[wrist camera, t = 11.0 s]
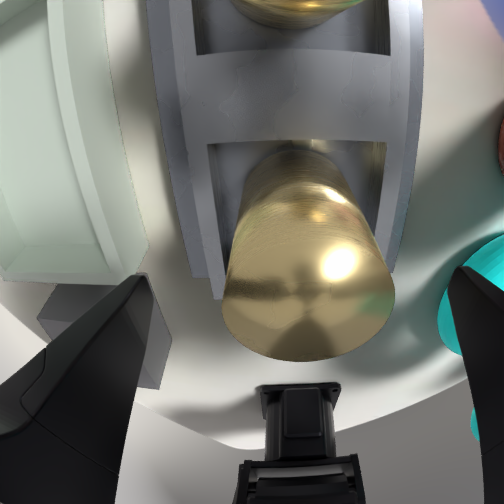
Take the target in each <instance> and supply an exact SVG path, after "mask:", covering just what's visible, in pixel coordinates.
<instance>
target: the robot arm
mask: <svg viewBox="0 0 504 504" xmlns="http://www.w3.org/2000/svg"><path fill="white" fill-rule="evenodd" d="M447 295H448V299H449V303H450V308H451V312H452V316H453V321H454V326H455V330H456V335H457V339H458V343H459V346H460V350H461V353H462V357H463V361H464V364H465V368H466V372H467V376H468V380H469V385H470V389H471V394H472V399H473V404H474V409H475V414H476V420H477V426H478V433H479V440H480V447H481V455H482V456H481V457H482V467H483V482H484V504H504V291H503V290H501V289H500V288H499V287H497V286H496V285H495V284H493V283H492V282H491V281H489V280H488V279H486V278H485V277H484V276H482V275H481V274H479V273H478V272H477V271H475V270H474V269H472V268H471V267H469V266H458V267H456V268H455V270H454V272H453V275H452V277H451V280H450V282H449V284H448V288H447ZM153 305H154V297H153V294H152V291H151V288H150V285H149V283H148V280H147V278H146V276H145V275H142V274H133V275H130V276H129V277H128V278H126V279H125V280H124V281H123V282H121V283H120V284H119V285H118V286H116V287H115V288H114V289H113V290H112V291H110V292H109V293H108V294H107V295H105V296H104V297H103V298H102V299H101V300H99V301H98V302H97V303H96V304H95V305H93V306H92V307H91V308H90V309H89V310H87V311H86V312H85V313H84V314H83V315H81V316H80V317H79V318H78V319H77V320H76V321H74V322H73V323H72V324H71V325H70V326H69V327H67V328H66V329H65V330H64V331H63V332H62V333H61V334H59V335H58V336H57V337H56V338H55V339H54V340H53V341H51V342H50V343H49V344H48V345H47V346H46V348H44V349H43V350H41V351H40V352H39V353H38V354H37V355H36V356H35V357H34V358H33V359H31V360H30V361H29V362H28V363H27V364H26V365H24V366H23V367H22V368H21V369H20V370H18V371H17V372H16V373H15V374H13V375H12V376H11V377H10V378H9V379H7V380H6V381H5V382H3V383H2V384H1V385H0V504H115V497H116V491H117V484H118V478H119V476H118V475H119V471H120V466H121V460H122V454H123V449H124V444H125V439H126V434H127V429H128V424H129V419H130V415H131V411H132V406H133V401H134V397H135V393H136V389H137V385H138V380H139V376H140V372H141V368H142V364H143V361H144V357H145V352H146V348H147V342H148V336H149V329H150V323H151V317H152V311H153ZM340 392H341V385H340V384H338V383H335V384H320V385H298V386H264V387H262V388H261V403H262V413H263V419H265V420H266V438H265V461H252V460H245V461H244V464H240V465H239V474H238V483H237V488H236V492H235V495H234V500H233V503H232V504H366V501H365V493H364V487H363V481H362V476H361V470H360V466H359V460H358V455H357V453H356V454H350V455H349V456H341V457H336V444H335V431H334V420H333V410H334V408H335V405H336V402H337V400H338V397H339V394H340ZM258 478H259V479H258Z"/></svg>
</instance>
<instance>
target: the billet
mask: <svg viewBox="0 0 504 504" xmlns="http://www.w3.org/2000/svg"><path fill="white" fill-rule="evenodd" d="M394 302H395V288H394V283H393V280H392V277H391V275H390V272H389V270H388V268H387V265H386V263H385V261H384V258H383V256H382V254H381V252H380V249H379V247H378V245H377V243H376V240H375V238H374V236H373V234H372V232H371V230H370V227H369V225H368V223H367V221H366V219H365V217H364V215H363V213H362V211H361V209H360V207H359V205H358V203H357V201H356V199H355V197H354V195H353V193H352V191H351V189H350V187H349V185H348V183H347V181H346V180H345V178H344V176H343V174H342V173H341V171H340V170H339V169H338V168H337V166H336V165H335V164H333V163H332V162H331V161H330V160H328V159H327V158H325V157H323V156H321V155H319V154H316V153H313V152H310V151H304V150H289V151H283V152H279V153H277V154H274V155H272V156H270V157H268V158H266V159H264V160H263V161H262V162H260V163H259V164H258V165H257V166H256V167H255V168H254V169H253V170H252V171H251V173H250V174H249V176H248V177H247V179H246V182H245V184H244V187H243V191H242V196H241V201H240V206H239V211H238V217H237V222H236V227H235V232H234V238H233V243H232V248H231V254H230V259H229V265H228V270H227V275H226V281H225V287H224V292H223V298H222V315H223V319H224V322H225V324H226V326H227V328H228V330H229V331H230V332H231V334H232V335H233V336H234V337H235V338H236V339H237V340H238V341H239V342H240V343H241V344H243V345H244V346H245V347H247V348H249V349H250V350H252V351H254V352H256V353H258V354H261V355H263V356H266V357H269V358H273V359H277V360H283V361H292V362H309V361H318V360H325V359H329V358H333V357H336V356H339V355H342V354H345V353H347V352H350V351H352V350H354V349H356V348H358V347H359V346H361V345H363V344H364V343H366V342H367V341H368V340H370V339H371V338H372V337H373V336H374V335H376V334H377V333H378V332H379V331H380V329H381V328H382V327H383V326H384V324H385V323H386V321H387V320H388V318H389V316H390V314H391V312H392V309H393V306H394Z"/></svg>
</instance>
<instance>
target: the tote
mask: <svg viewBox="0 0 504 504" xmlns="http://www.w3.org/2000/svg"><path fill="white" fill-rule="evenodd" d="M148 248H149V242H148V239H147V236H146V232H145V229H144V225H143V222H142V218H141V214H140V211H139V207H138V203H137V199H136V196H135V192H134V188H133V184H132V180H131V175H130V171H129V167H128V163H127V158H126V154H125V149H124V145H123V140H122V135H121V130H120V125H119V120H118V115H117V109H116V104H115V98H114V92H113V86H112V79H111V72H110V65H109V58H108V50H107V42H106V32H105V22H104V10H103V0H0V275H1V277H2V278H3V280H4V281H19V282H39V283H63V284H93V285H119V284H120V283H121V282H123V281H124V280H125V279H126V278H128V277H129V276H130V275H133V274H136V272H137V270H138V268H139V266H140V264H141V262H142V260H143V258H144V256H145V254H146V252H147V250H148Z"/></svg>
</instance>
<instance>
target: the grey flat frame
mask: <svg viewBox="0 0 504 504" xmlns="http://www.w3.org/2000/svg"><path fill="white" fill-rule="evenodd" d="M146 8H147V19H148V30H149V39H150V48H151V57H152V65H153V73H154V80H155V88H156V95H157V102H158V108H159V115H160V121H161V127H162V133H163V139H164V145H165V151H166V156H167V162H168V167H169V172H170V178H171V183H172V188H173V193H174V198H175V203H176V207H177V212H178V217H179V221H180V226H181V231H182V235H183V240H184V244H185V248H186V253H187V257H188V261H189V265H190V269H191V274H192V278H210V283H211V288H212V293H213V297H214V300H222V298H223V292H224V287H225V281H226V275H227V270H228V265H229V259H230V254H231V248H232V243H233V238H234V232H235V227H236V222H237V217H238V211H239V206H240V201H241V196H242V191H243V187H244V184H245V182H246V179H247V177H248V176H249V174H250V173H251V171H252V170H253V169H254V168H255V167H256V166H257V165H258V164H259V163H260V162H262V161H263V160H264V159H266V158H268V157H270V156H272V155H274V154H277V153H279V152H283V151H289V150H304V151H310V152H313V153H316V154H319V155H321V156H323V157H325V158H327V159H328V160H330V161H331V162H332V163H333V164H335V165H336V166H337V168H338V169H339V170H340V171H341V173H342V174H343V176H344V178H345V180H346V181H347V183H348V185H349V187H350V189H351V191H352V193H353V195H354V197H355V199H356V201H357V203H358V205H359V207H360V209H361V211H362V213H363V215H364V217H365V219H366V221H367V223H368V225H369V227H370V230H371V232H372V234H373V236H374V238H375V240H376V243H377V245H378V247H379V249H380V252H381V254H382V256H383V258H384V261H385V263H386V265H387V268H388V270H389V272H390V273H393V269H394V266H395V262H396V258H397V254H398V250H399V246H400V242H401V237H402V233H403V229H404V224H405V219H406V215H407V210H408V204H409V199H410V194H411V188H412V182H413V176H414V170H415V163H416V156H417V148H418V140H419V130H420V120H421V108H422V93H423V66H424V39H423V14H422V0H364V1H362V2H360V3H358V4H356V5H354V6H352V7H350V8H349V9H347V10H345V11H343V12H341V13H339V14H338V15H336V16H334V17H332V18H331V19H329V20H327V21H325V22H323V23H321V24H319V25H316V26H312V27H309V28H303V29H280V28H274V27H270V26H266V25H263V24H260V23H258V22H256V21H254V20H252V19H250V18H248V17H247V16H245V15H244V14H243V13H241V12H240V11H239V10H238V9H237V8H236V7H235V6H234V5H233V4H232V2H231V1H230V0H146Z"/></svg>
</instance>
